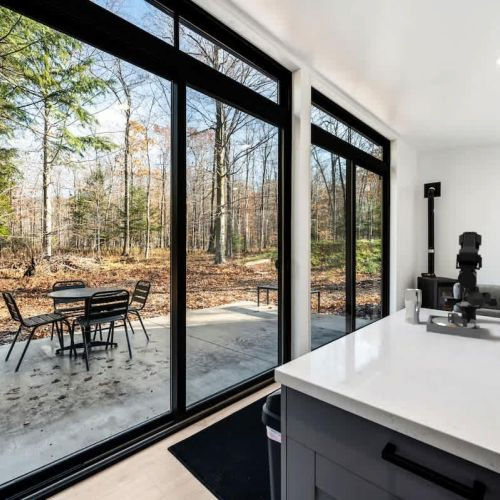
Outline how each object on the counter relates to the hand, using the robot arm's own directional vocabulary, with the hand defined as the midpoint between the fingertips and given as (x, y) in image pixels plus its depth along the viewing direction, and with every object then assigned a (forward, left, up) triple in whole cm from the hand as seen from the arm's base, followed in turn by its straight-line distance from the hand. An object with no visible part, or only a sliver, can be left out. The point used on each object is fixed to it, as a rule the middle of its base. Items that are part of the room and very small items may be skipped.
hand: (467, 322), depth 125 cm
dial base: (-6, -5, -5) cm, 9 cm away
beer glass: (-10, -20, -5) cm, 23 cm away
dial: (-5, -5, -3) cm, 8 cm away
